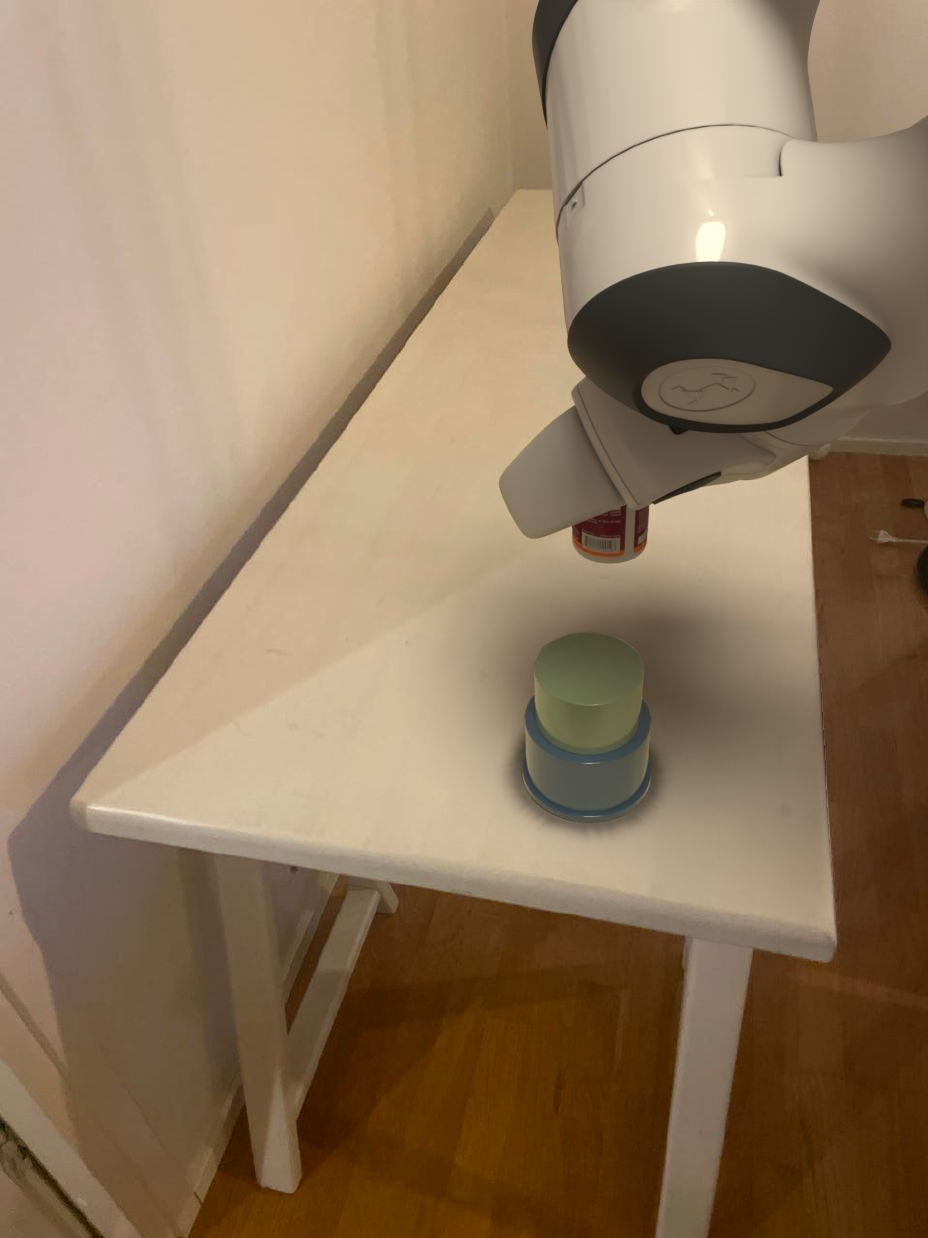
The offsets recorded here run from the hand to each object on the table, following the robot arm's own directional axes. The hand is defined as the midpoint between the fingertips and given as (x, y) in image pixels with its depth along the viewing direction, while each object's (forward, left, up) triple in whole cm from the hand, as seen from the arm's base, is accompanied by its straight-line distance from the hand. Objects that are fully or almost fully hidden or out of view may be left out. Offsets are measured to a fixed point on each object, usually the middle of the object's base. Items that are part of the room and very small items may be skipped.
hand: (603, 481), depth 57 cm
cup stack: (-1, +5, -20) cm, 21 cm away
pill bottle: (-1, 0, -5) cm, 5 cm away
